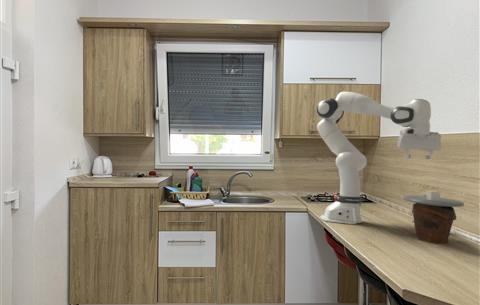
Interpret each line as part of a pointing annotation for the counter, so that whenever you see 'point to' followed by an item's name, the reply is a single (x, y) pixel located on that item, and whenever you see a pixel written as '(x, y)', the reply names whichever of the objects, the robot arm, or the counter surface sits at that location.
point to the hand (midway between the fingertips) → (418, 158)
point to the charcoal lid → (434, 200)
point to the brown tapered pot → (433, 222)
